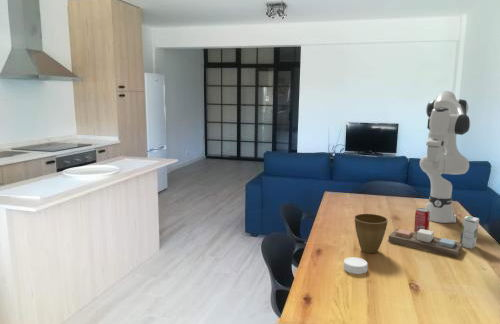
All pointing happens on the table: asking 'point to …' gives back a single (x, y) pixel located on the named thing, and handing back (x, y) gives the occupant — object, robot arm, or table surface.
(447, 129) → the robot arm
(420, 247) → the key panel
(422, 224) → the soda can
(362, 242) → the plant pot
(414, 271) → the table surface
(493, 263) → the table surface
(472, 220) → the syrup box
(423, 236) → the white key
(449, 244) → the blue-grey key
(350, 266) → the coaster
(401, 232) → the terracotta key
